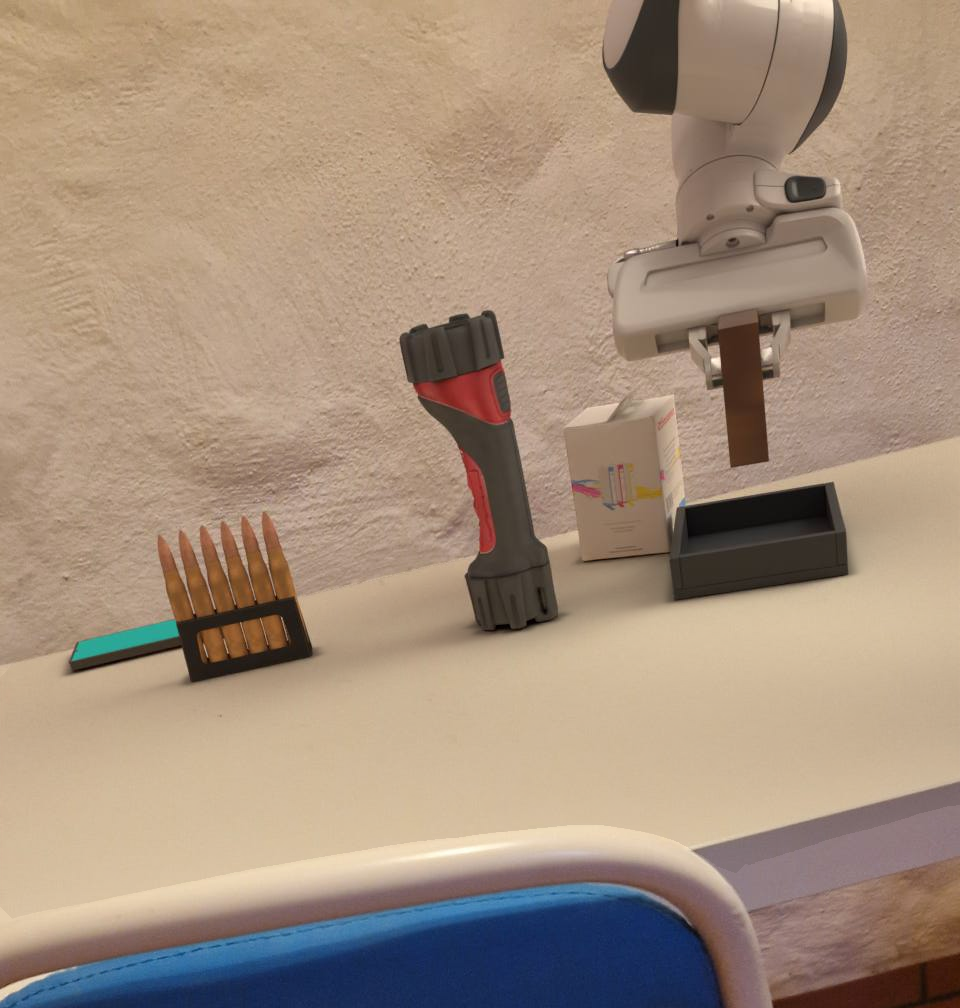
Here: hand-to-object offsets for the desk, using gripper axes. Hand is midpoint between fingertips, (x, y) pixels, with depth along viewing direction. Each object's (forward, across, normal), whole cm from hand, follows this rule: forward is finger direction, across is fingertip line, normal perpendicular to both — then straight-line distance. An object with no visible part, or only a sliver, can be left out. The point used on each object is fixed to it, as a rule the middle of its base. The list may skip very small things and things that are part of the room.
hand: (743, 379), depth 111 cm
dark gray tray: (+11, 0, +9) cm, 14 cm away
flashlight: (+16, -21, +4) cm, 27 cm away
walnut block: (+5, 0, +3) cm, 6 cm away
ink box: (+3, -11, +17) cm, 20 cm away
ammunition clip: (+17, -43, +3) cm, 46 cm away
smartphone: (+9, -57, +11) cm, 58 cm away
